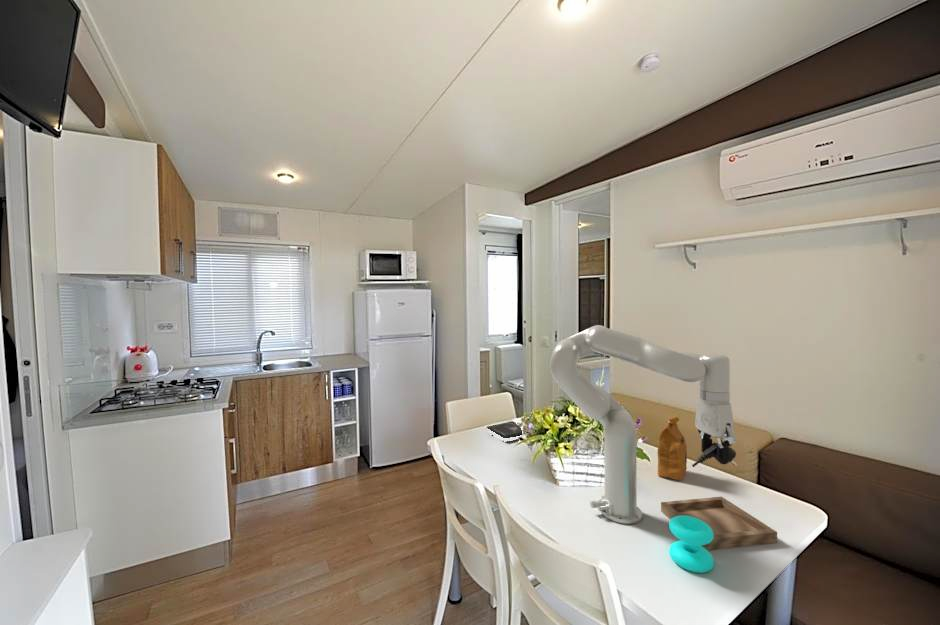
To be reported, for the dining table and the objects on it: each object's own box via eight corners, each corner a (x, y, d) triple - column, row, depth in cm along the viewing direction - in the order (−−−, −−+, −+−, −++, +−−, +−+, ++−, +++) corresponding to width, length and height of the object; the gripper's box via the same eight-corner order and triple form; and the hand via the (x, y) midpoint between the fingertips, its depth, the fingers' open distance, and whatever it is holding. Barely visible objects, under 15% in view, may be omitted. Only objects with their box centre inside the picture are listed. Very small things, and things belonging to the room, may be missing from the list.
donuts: (713, 519, 100) (714, 540, 91) (713, 557, 100) (714, 580, 92) (670, 509, 105) (667, 528, 97) (670, 544, 105) (667, 566, 97)
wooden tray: (706, 550, 103) (706, 539, 102) (661, 511, 122) (660, 502, 122) (777, 542, 105) (777, 531, 105) (721, 505, 125) (721, 496, 125)
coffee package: (691, 472, 149) (691, 417, 148) (682, 484, 140) (681, 425, 139) (664, 465, 156) (663, 412, 155) (653, 476, 147) (653, 419, 146)
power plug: (687, 460, 118) (718, 435, 116) (705, 478, 117) (737, 453, 115) (694, 468, 113) (726, 442, 110) (713, 487, 112) (746, 462, 110)
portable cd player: (532, 437, 193) (532, 429, 192) (505, 444, 184) (505, 435, 184) (513, 428, 207) (513, 421, 207) (487, 434, 198) (486, 426, 198)
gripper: (683, 390, 121) (683, 446, 121) (726, 404, 104) (726, 469, 104) (704, 389, 122) (704, 444, 122) (750, 402, 105) (750, 467, 105)
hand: (714, 455), depth 113 cm, fingers closed on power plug, 5 cm apart
